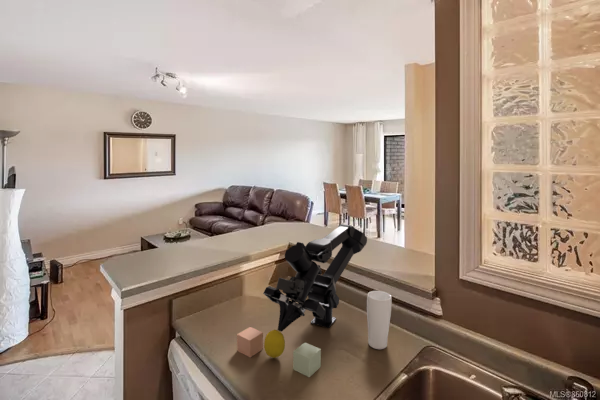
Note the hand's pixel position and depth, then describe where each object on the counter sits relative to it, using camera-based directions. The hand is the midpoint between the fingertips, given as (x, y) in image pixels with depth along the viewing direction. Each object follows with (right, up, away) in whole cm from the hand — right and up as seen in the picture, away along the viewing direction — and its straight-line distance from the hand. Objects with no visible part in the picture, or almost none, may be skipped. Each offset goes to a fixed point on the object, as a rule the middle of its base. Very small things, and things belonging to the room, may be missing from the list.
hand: (279, 330), depth 86 cm
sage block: (+7, -8, -5) cm, 12 cm away
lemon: (-1, -7, -1) cm, 7 cm away
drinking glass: (+28, -7, +6) cm, 29 cm away
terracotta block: (-8, -7, +3) cm, 11 cm away
